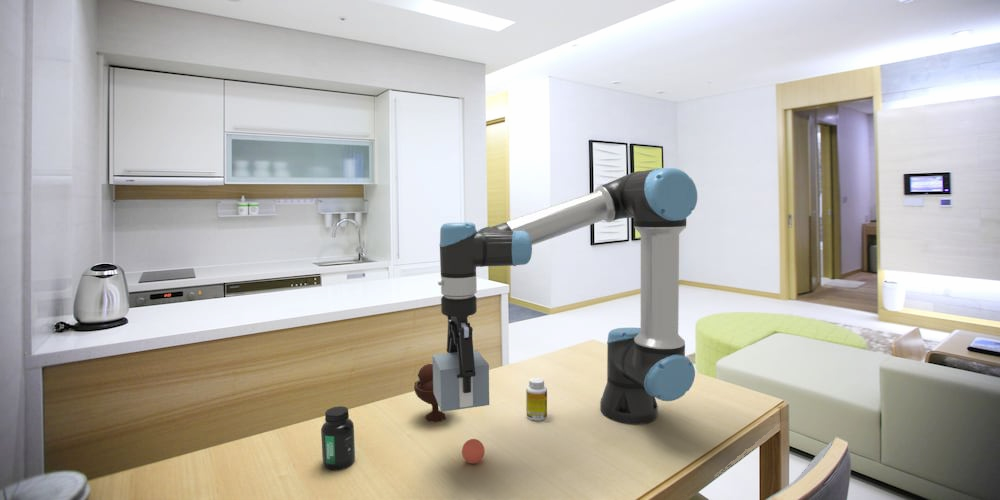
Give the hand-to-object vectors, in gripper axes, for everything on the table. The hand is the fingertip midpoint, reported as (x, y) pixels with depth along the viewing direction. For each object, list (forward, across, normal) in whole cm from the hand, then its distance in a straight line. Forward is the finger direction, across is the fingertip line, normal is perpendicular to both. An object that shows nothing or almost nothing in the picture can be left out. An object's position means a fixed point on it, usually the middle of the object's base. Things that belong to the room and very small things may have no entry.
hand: (460, 395), depth 101 cm
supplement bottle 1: (+16, -9, -26) cm, 32 cm away
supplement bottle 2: (+16, -16, +24) cm, 33 cm away
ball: (+13, 0, +3) cm, 13 cm away
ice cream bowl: (+16, -24, -2) cm, 29 cm away
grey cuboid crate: (+1, 0, 0) cm, 1 cm away
